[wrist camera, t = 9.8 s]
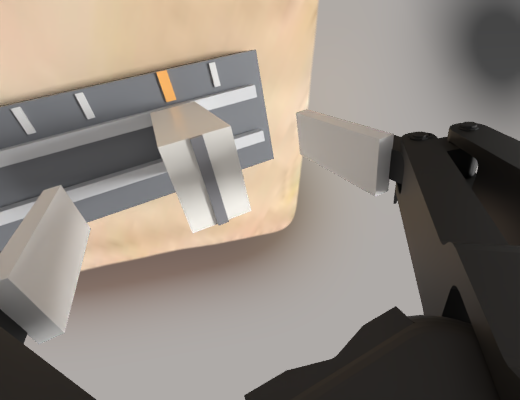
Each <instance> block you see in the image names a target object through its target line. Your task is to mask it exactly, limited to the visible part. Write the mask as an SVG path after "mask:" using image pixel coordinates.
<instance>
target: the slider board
mask: <svg viewBox="0 0 520 400" xmlns="http://www.w3.org/2000/svg"><path fill="white" fill-rule="evenodd" d="M194 101H195V102H196V103H198V104H199V105H201V106H202V107H204V108H205V109H207V110H208V111H209V112H211V113H212V114H214V115H215V116H217V117H218V118H220V119H221V120H223V121H224V122H226V123H227V124H229V125H230V126H231V129H232V133H233V137H234V141H235V145H236V149H237V154H238V158H239V162H240V166H241V170H242V169H244V168H247V167H250V166H253V165H256V164H259V163H262V162H265V161H268V160H271V159H274V157H273V151H272V145H271V138H270V132H269V126H268V120H267V114H266V108H265V102H264V96H263V90H262V84H261V78H260V72H259V66H258V60H257V54H256V50H250V51H244V52H239V53H235V54H230V55H226V56H221V57H217V58H213V59H208V60H204V61H199V62H195V63H190V64H186V65H181V66H177V67H173V68H168V69H164V70H159V71H155V72H150V73H146V74H142V75H137V76H133V77H128V78H124V79H119V80H115V81H110V82H106V83H102V84H97V85H93V86H88V87H84V88H79V89H75V90H70V91H66V92H62V93H57V94H53V95H48V96H44V97H39V98H35V99H30V100H26V101H22V102H17V103H13V104H8V105H4V106H0V252H1V251H2V250H3V248H4V247H5V246H6V244H7V243H8V241H9V240H10V238H11V237H12V235H13V234H14V232H15V231H16V230H17V228H18V227H19V225H20V224H21V222H22V221H23V219H24V218H25V216H26V215H27V214H28V212H29V211H30V209H31V208H32V206H33V205H34V203H35V202H36V200H37V199H38V197H39V196H40V195H41V193H42V192H43V190H46V189H49V188H52V187H56V186H59V185H61V186H62V187H63V188H64V190H65V191H66V193H67V194H68V196H69V197H70V199H71V200H72V202H73V203H74V205H75V206H76V208H77V209H78V211H79V212H80V214H81V215H82V217H83V218H84V220H85V221H86V223H87V222H90V221H93V220H96V219H99V218H102V217H105V216H107V215H110V214H113V213H116V212H119V211H122V210H125V209H128V208H131V207H134V206H137V205H140V204H142V203H145V202H148V201H151V200H154V199H157V198H160V197H163V196H166V195H169V194H172V193H175V192H176V191H175V189H174V186H173V184H172V181H171V179H170V176H169V174H168V172H167V169H166V167H165V164H164V162H163V159H162V157H161V154H160V152H159V150H158V147H157V142H156V138H155V133H154V129H153V124H152V120H151V115H150V113H152V112H156V111H159V110H163V109H167V108H171V107H175V106H179V105H182V104H186V103H190V102H194Z"/></svg>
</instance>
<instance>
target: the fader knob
mask: <svg viewBox="0 0 520 400" xmlns="http://www.w3.org/2000/svg"><path fill="white" fill-rule="evenodd" d="M150 115H151V120H152V124H153V129H154V133H155V138H156V142H157V147H158V150H159V152H160V154H161V157H162V159H163V162H164V164H165V167H166V169H167V172H168V174H169V176H170V179H171V181H172V184H173V186H174V189H175V191H176V194H177V196H178V198H179V201H180V203H181V206H182V208H183V211H184V213H185V216H186V218H187V220H188V223H189V225H190V228H191V230H192V233H195V232H198V231H200V230H203V229H206V228H208V227H211V226H213V225H216V224H218V225H221V224H224V223H227V222H229V219H231V218H234V217H236V216H239V215H242V214H244V213H247V212H249V211H251V207H250V203H249V199H248V195H247V191H246V187H245V182H244V178H243V174H242V170H241V166H240V162H239V158H238V154H237V149H236V145H235V141H234V137H233V133H232V129H231V126H230V125H229V124H227V123H226V122H224V121H223V120H221V119H220V118H218V117H217V116H215V115H214V114H212V113H211V112H209V111H208V110H207V109H205V108H204V107H202V106H201V105H199V104H198V103H196V102H195V101H194V102H190V103H186V104H182V105H179V106H175V107H171V108H167V109H163V110H159V111H156V112H152V113H150Z"/></svg>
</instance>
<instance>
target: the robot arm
mask: <svg viewBox="0 0 520 400" xmlns="http://www.w3.org/2000/svg"><path fill="white" fill-rule="evenodd" d="M296 116H297V126H298V136H299V146H300V154H301V155H302V156H304V157H306V158H308V159H310V160H312V161H313V162H315V163H317V164H319V165H321V166H322V167H324V168H326V169H327V170H329V171H331V172H333V173H334V174H336V175H338V176H340V177H341V178H343V179H345V180H347V181H349V182H350V183H352V184H354V185H356V186H357V187H359V188H361V189H363V190H365V191H366V192H368V193H370V194H372V195H373V196H378V195H380V194H382V193H384V192H387V191H388V186H389V179H391V180H393V181H396V188H395V196H394V204H395V203H396V202H397V200H398V204H399V208H400V212H401V217H402V220H403V225H404V229H405V234H406V238H407V242H408V247H409V251H410V255H411V259H412V264H413V268H414V272H415V277H416V281H417V285H418V289H419V293H420V298H421V302H422V306H423V312H424V315H416V316H408V317H407V316H406V315H405V314H403V313H402V312H401V311H400V310H399V309H398V308H397V307H394V308H392V309H390V310H389V311H387V312H385V313H384V314H382V315H380V316H379V317H377V318H375V319H373V320H372V321H370V322H368V323H367V324H365V325H363V326H362V328H361V329H360V330H359V331H358V332H357V333H356V334H355V336H354V337H353V338H352V339H351V340H350V341H349V342H348V343H347V345H346V346H345V347H344V348H343V349H342V350H341V351H340V353H339V354H338V355H337V356H336V357H334V358H333V359H330V360H326V361H322V362H318V363H314V364H311V365H307V366H303V367H299V368H295V369H291V370H287V371H285V372H284V373H282V374H280V375H278V376H277V377H275V378H273V379H271V380H270V381H268V382H266V383H265V384H263V385H261V386H260V387H258V388H256V389H254V390H253V391H251V392H249V393H248V394H246V395H245V396H244V397H245V400H520V141H518V140H516V139H514V138H512V137H509V136H507V135H505V134H503V133H501V132H498V131H496V130H494V129H492V128H490V127H488V126H485V125H482V124H477V123H474V122H464V123H458V124H454V125H452V126H450V128H449V132H448V137H443V138H437V137H436V136H435V135H434V134H431V133H425V132H413V133H408V134H405V135H403V136H402V137H399V136H396V135H394V134H391V133H388V132H385V131H381V130H378V129H374V128H371V127H367V126H364V125H360V124H356V123H353V122H350V121H346V120H342V119H339V118H335V117H332V116H328V115H325V114H322V113H317V112H314V111H311V110H307V109H306V110H303V111H300V112H297V113H296ZM477 165H478V170H477V174H476V173H475V171H476V168H477ZM90 229H91V228H90V227H89V225H88V224H87V223H86V221H85V220H84V218H83V217H82V215H81V214H80V212H79V211H78V209H77V208H76V206H75V205H74V203H73V202H72V200H71V199H70V197H69V196H68V194H67V193H66V191H65V190H64V188H63V187H62V186H61V185H59V186H56V187H52V188H49V189H46V190H43V192H42V193H41V195H40V196H39V197H38V199H37V200H36V202H35V203H34V205H33V206H32V208H31V209H30V211H29V212H28V214H27V215H26V216H25V218H24V219H23V221H22V222H21V224H20V225H19V227H18V228H17V230H16V231H15V232H14V234H13V235H12V237H11V238H10V240H9V241H8V243H7V244H6V246H5V247H4V248H3V250H2V251H1V252H0V400H96V399H95V398H93V397H92V396H91V395H89V394H88V393H87V392H86V391H84V390H83V389H81V388H80V387H79V386H78V385H76V384H75V383H74V382H72V381H71V380H70V379H68V378H67V377H66V376H64V375H63V374H62V373H61V372H59V371H58V370H57V369H55V368H54V367H53V366H51V365H50V364H49V363H47V362H46V361H45V360H43V359H42V358H41V357H40V356H38V355H37V354H36V353H34V352H33V351H32V350H30V349H29V348H28V347H26V346H25V345H24V341H25V338H26V336H27V335H29V336H30V337H31V338H32V339H33V340H35V341H36V342H37V343H38V344H41V343H43V342H45V341H47V340H50V339H52V338H54V337H57V336H59V335H61V334H63V333H65V329H66V325H67V321H68V317H69V313H70V309H71V305H72V301H73V297H74V293H75V289H76V285H77V281H78V277H79V273H80V269H81V265H82V261H83V257H84V253H85V249H86V245H87V241H88V237H89V233H90Z"/></svg>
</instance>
